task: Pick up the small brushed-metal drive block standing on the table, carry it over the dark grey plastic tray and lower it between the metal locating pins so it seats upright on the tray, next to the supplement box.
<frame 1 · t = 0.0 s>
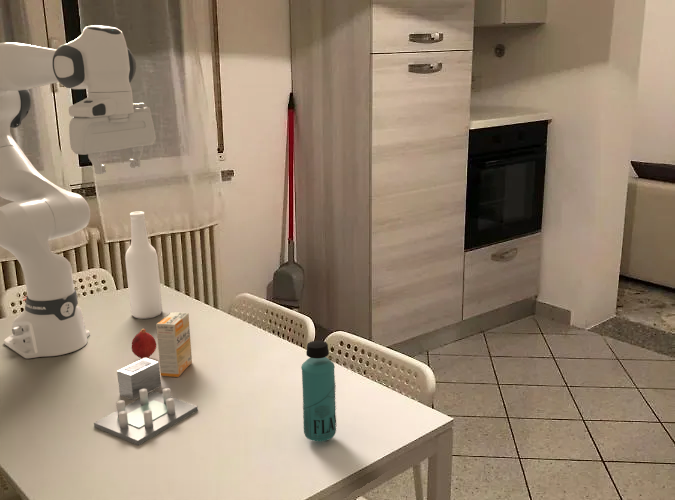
hand: (118, 170, 153), 48 cm above the table, tool pointing down, fingers open, 8 cm apart
drive: (140, 390, 157), on the table
alcohol: (147, 314, 204), on the table
pin tray: (147, 418, 145), on the table
onion: (145, 360, 173), on the table
supplement box: (177, 370, 167), on the table
beverage bottle: (320, 440, 136), on the table
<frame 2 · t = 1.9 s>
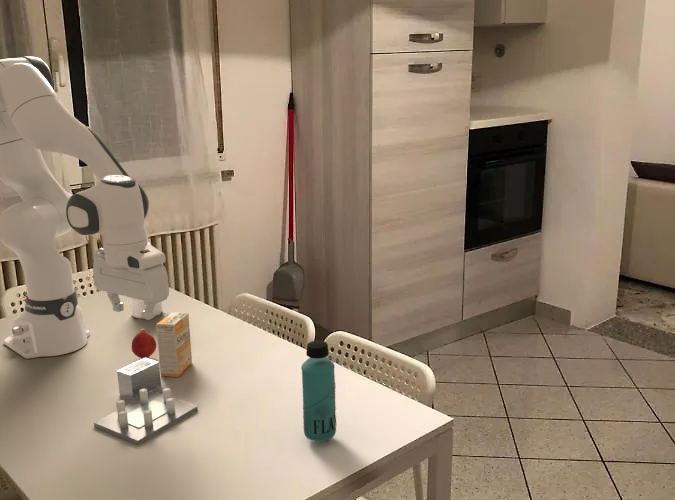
hand: (133, 314, 152), 18 cm above the table, tool pointing down, fingers open, 8 cm apart
nothing on the table moved.
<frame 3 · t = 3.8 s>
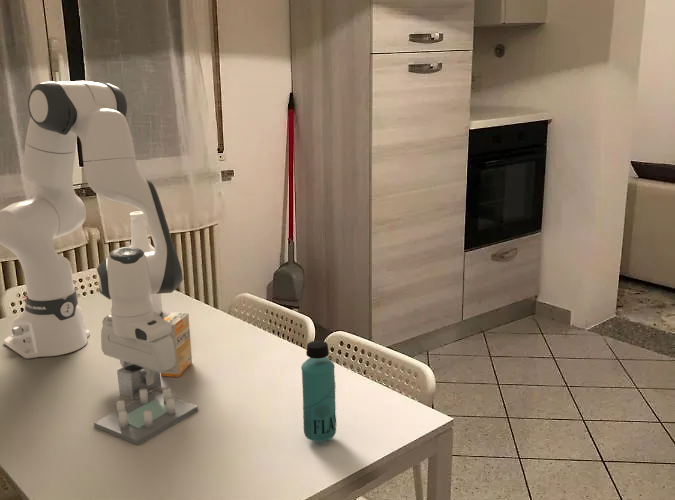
hand: (139, 380, 156), 2 cm above the table, tool pointing down, fingers closed on drive, 4 cm apart
drive: (140, 390, 157), on the table, touching gripper
everything else where it was.
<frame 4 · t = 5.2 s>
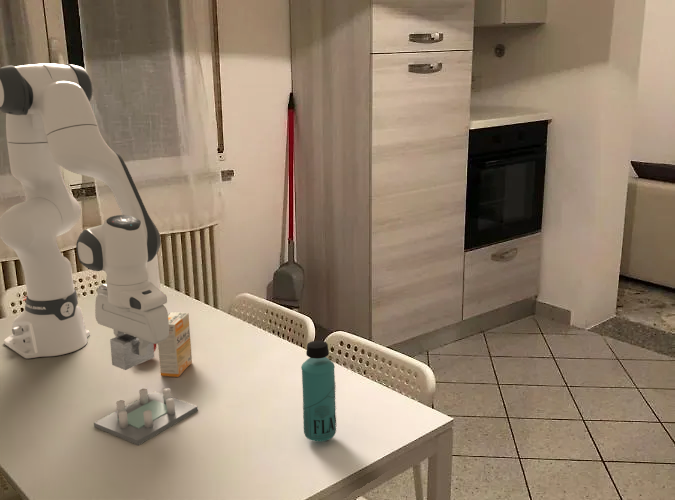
hand: (132, 351, 155), 9 cm above the table, tool pointing down, fingers closed on drive, 4 cm apart
drive: (133, 361, 155), point 7 cm above the table, touching gripper
everything else where it was.
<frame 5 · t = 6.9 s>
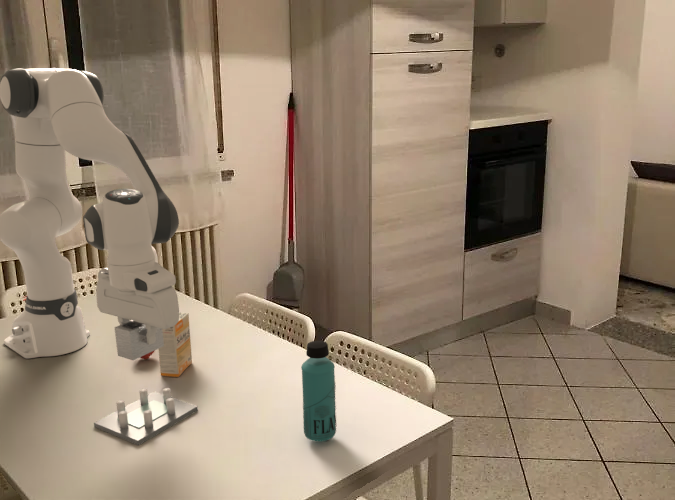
hand: (139, 340, 140), 17 cm above the table, tool pointing down, fingers closed on drive, 4 cm apart
drive: (141, 350, 141), point 15 cm above the table, touching gripper
everything else where it was.
when the fingers open (5 cm above the table, at t = 9.5 s): drive drops 2 cm, resting on pin tray.
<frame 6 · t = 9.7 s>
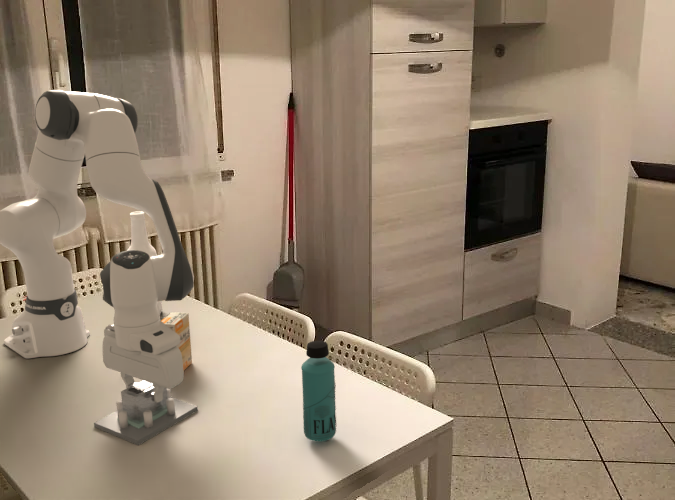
hand: (144, 396, 143), 5 cm above the table, tool pointing down, fingers open, 6 cm apart
drive: (146, 413, 144), point 1 cm above the table, touching pin tray
everything else where it was.
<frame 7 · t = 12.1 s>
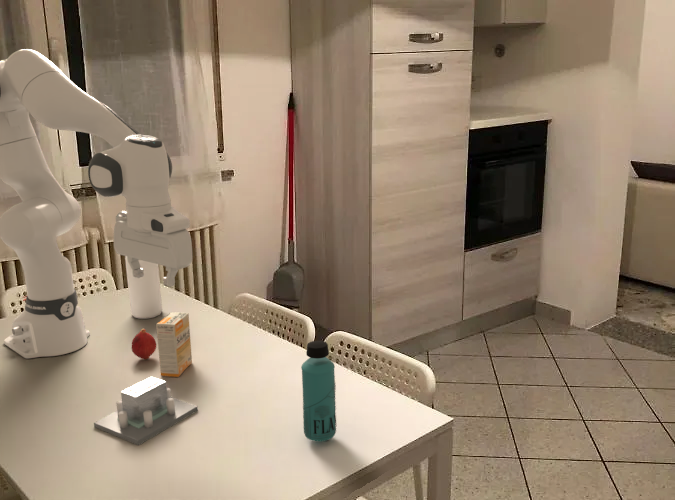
hand: (153, 281, 147), 26 cm above the table, tool pointing down, fingers open, 8 cm apart
nothing on the table moved.
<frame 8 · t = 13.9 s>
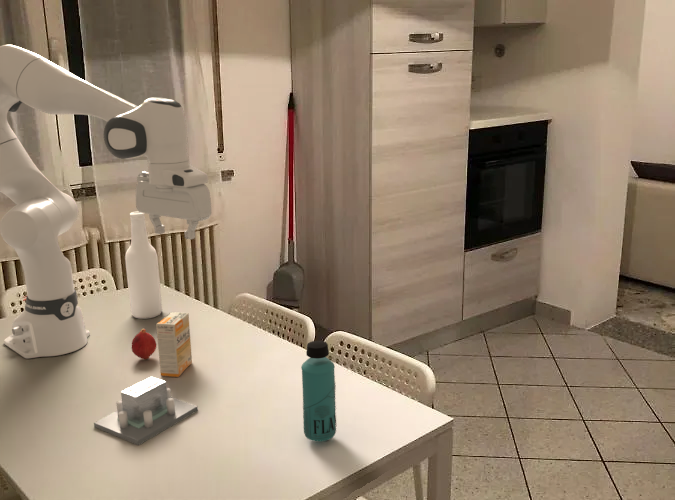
hand: (174, 235, 157), 33 cm above the table, tool pointing down, fingers open, 8 cm apart
nothing on the table moved.
at the end: drive 0.1 cm off-centre on the pin tray, point 1.2 cm above the pin tray's base; drive tilted 0°; the gripper is holding nothing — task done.
